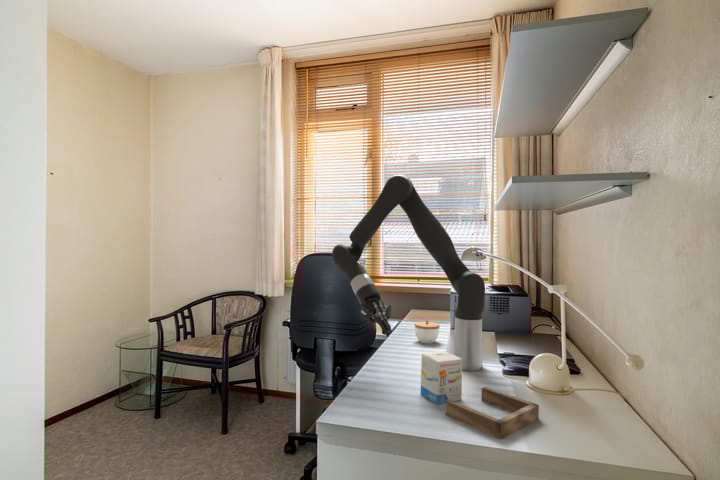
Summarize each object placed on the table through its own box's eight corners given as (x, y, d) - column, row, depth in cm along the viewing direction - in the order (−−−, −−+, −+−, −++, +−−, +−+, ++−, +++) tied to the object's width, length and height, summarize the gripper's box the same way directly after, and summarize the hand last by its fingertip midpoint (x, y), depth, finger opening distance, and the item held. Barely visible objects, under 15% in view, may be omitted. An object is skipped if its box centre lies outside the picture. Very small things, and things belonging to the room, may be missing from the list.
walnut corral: (484, 399, 113) (484, 386, 113) (538, 418, 100) (538, 404, 100) (445, 415, 102) (445, 401, 102) (500, 439, 90) (501, 423, 90)
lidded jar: (432, 338, 182) (432, 317, 182) (443, 344, 172) (444, 322, 172) (410, 339, 179) (410, 318, 179) (420, 345, 169) (420, 323, 169)
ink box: (436, 404, 108) (437, 361, 108) (419, 393, 116) (420, 353, 116) (462, 400, 112) (463, 358, 112) (444, 389, 119) (445, 350, 119)
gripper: (355, 283, 134) (378, 327, 124) (384, 282, 142) (408, 322, 133) (345, 297, 138) (367, 341, 128) (374, 295, 146) (397, 335, 137)
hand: (388, 331), depth 131 cm, fingers closed
